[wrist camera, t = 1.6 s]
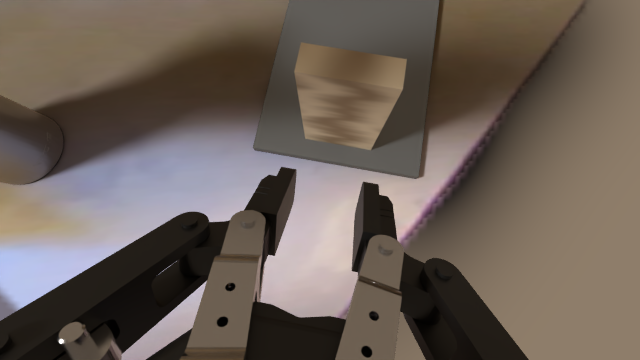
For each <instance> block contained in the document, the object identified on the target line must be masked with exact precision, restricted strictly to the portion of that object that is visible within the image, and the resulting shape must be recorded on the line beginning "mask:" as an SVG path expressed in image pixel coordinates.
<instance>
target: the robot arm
mask: <svg viewBox="0 0 640 360" xmlns="http://www.w3.org/2000/svg"><path fill="white" fill-rule="evenodd" d="M62 149H63V135H62V132H61V129H60V127H59V126H58V125H57V124H56V122H55V121H53V120H52V119H51V118H49V117H47V116H44V115H42V114H40V113H38V112H36V111H33V110H31V109H29V108H27V107H25V106H23V105H20V104H18V103H16V102H14V101H12V100H10V99H8V98H5V97H3V96H1V95H0V182H3V183H8V184H14V185H22V184H27V183H31V182H33V181H36V180H38V179H40V178H41V177H43V176H44V175H46V174H47V173H48V172H49V171H50V170H51V169H52V168H53V167H54V166H55V164H56V163H57V162H58V160H59V158H60V156H61V153H62ZM295 183H296V169H290V168H285V167H281V169H280V171H279V173H278V175H277V176H273V175H268V176H267V177H265V178H264V179H262V180H261V182H260V184H259V185H258V188H257V189H256V191H255V193H254V194H253V196H252V198H251V199H250V201H249V203H248V205H247V206H246V208H245V210H244V211H240V212H238V213H236V214H235V215H233V216H232V218H231V220H230V221H225V222H209V220H208V217H207V216H206V215H204V214H203V213H200V212H186V213H183V214H180V215H178V216H176V217H175V218H173V219H171V220H170V221H168V222H166V223H165V224H163V225H161V226H160V227H158V228H156V229H154V230H153V231H151V232H149V233H148V234H146V235H144V236H143V237H141V238H139V239H138V240H136V241H134V242H133V243H131V244H129V245H128V246H126V247H124V248H122V249H121V250H119V251H117V252H116V253H114V254H112V255H111V256H109V257H107V258H106V259H104V260H102V261H101V262H99V263H97V264H95V265H94V266H92V267H90V268H89V269H87V270H85V271H84V272H82V273H80V274H79V275H77V276H75V277H74V278H72V279H70V280H69V281H67V282H65V283H63V284H62V285H60V286H58V287H57V288H55V289H53V290H52V291H50V292H48V293H47V294H45V295H43V296H42V297H40V298H38V299H36V300H35V301H33V302H31V303H30V304H28V305H26V306H25V307H23V308H21V309H20V310H18V311H16V312H15V313H13V314H11V315H10V316H8V317H6V318H4V319H3V320H1V321H0V360H121V357H122V353H124V352H125V351H126V350H127V349H128V348H129V347H131V346H132V345H133V344H134V343H135V342H136V341H137V340H139V339H140V338H141V337H142V336H143V335H144V334H146V333H147V332H148V331H149V330H150V329H151V328H152V327H154V326H155V325H156V324H157V323H158V322H159V321H161V320H162V319H163V318H164V317H165V316H166V315H167V314H169V313H170V312H171V311H172V310H173V309H174V308H176V307H177V306H178V305H179V304H180V303H181V302H183V301H184V300H185V299H186V298H187V297H188V296H189V295H191V294H192V293H193V292H194V291H195V290H196V289H198V288H199V287H200V286H201V285H202V284H203V283H204V282H206V281H207V283H206V286H205V290H204V293H203V296H202V299H201V303H200V306H199V309H198V312H197V315H196V319H195V322H194V325H193V328H192V329H190V330H189V331H187V332H186V333H184V334H183V335H181V336H180V337H179V338H177V339H176V340H174V341H173V342H171V343H170V344H168V345H167V346H165V347H164V348H162V349H161V350H159V351H158V352H156V353H155V354H153V355H152V356H150V357H149V358H148V359H146V360H394V358H395V348H396V341H397V333H398V324H399V315H400V311H401V312H403V314H404V317H405V319H406V321H407V323H408V325H409V327H410V329H411V331H412V333H413V335H414V337H415V339H416V341H417V343H418V345H419V347H420V349H421V351H422V353H423V355H424V357H425V359H426V360H528V358H527V357H526V356H525V354H524V353H523V352H522V350H521V349H520V348H519V347H518V345H517V344H516V343H515V341H514V340H513V339H512V338H511V337H510V335H509V334H508V332H507V331H506V330H505V329H504V327H503V326H502V325H501V324H500V322H499V321H498V320H497V318H496V317H495V316H494V315H493V313H492V312H491V311H490V310H489V308H488V307H487V306H486V304H485V303H484V302H483V300H482V299H481V298H480V297H479V295H478V294H477V293H476V292H475V290H474V289H473V288H472V286H471V285H470V284H469V283H468V281H467V280H466V279H465V277H464V276H463V275H462V274H461V272H460V271H459V270H458V269H457V268H456V267H455V266H454V265H453V264H451V263H450V262H448V261H446V260H442V259H439V258H432V259H429V260H427V261H426V263H423V262H420V261H418V260H416V259H414V258H412V257H410V256H408V255H407V254H406V253H404V249H403V247H402V245H401V244H400V243H399V242H398V241H397V235H396V227H395V219H394V213H393V204H392V202H391V201H390V200H389V198H388V197H387V196H382V195H379V186H378V184H373V183H367V182H363V183H362V187H361V191H360V195H359V199H358V203H357V207H356V212H355V221H354V239H353V258H352V271H354V272H358V279H357V283H356V286H355V289H354V293H353V296H352V300H351V303H350V306H349V310H348V313H347V317H346V320H345V319H340V318H335V317H331V316H325V317H305V318H300V317H296V316H294V315H292V314H290V313H288V312H286V311H284V310H282V309H280V308H278V307H276V306H274V305H271V304H266V303H262V302H260V299H261V291H262V282H263V274H264V263H265V261H266V259H267V256H268V255H273V256H275V253H276V250H277V248H278V245H279V242H280V239H281V236H282V234H283V231H284V228H285V225H286V222H287V220H288V217H289V214H290V211H291V208H292V205H293V201H294V194H295ZM176 261H177V262H176ZM174 262H175V263H174ZM173 263H174V264H173ZM170 265H171V266H170ZM169 266H170V267H169ZM167 267H168V268H167ZM166 268H167V269H166ZM165 269H166V270H165ZM163 270H164V271H163ZM162 271H163V272H162ZM159 273H160V274H159ZM158 274H159V275H158Z"/></svg>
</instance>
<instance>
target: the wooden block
mask: <svg viewBox="0 0 640 360" xmlns="http://www.w3.org/2000/svg"><path fill="white" fill-rule="evenodd" d="M406 63H407V59H402V58H396V57H390V56H383V55H377V54H371V53H364V52H358V51H352V50H346V49H339V48H333V47H327V46H320V45H314V44H308V43H302V42H301V45H300V49H299V53H298V58H297V62H296V67H295V71H294V73H295V79H296V85H297V91H298V97H299V103H300V109H301V116H302V122H303V128H304V134H305V139H310V140H315V141H321V142H327V143H332V144H338V145H344V146H350V147H355V148H361V149H367V150H371V149H372V147H373V145H374V143H375V141H376V139H377V137H378V135H379V134H380V132H381V130H382V128H383V126H384V124H385V122H386V120H387V118H388V117H389V115H390V113H391V111H392V109H393V107H394V105H395V103H396V101H397V100H398V98H399V96H400V94H401V92H402V90H403V84H404V77H405V70H406Z"/></svg>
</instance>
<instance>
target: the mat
mask: <svg viewBox="0 0 640 360" xmlns="http://www.w3.org/2000/svg"><path fill="white" fill-rule="evenodd" d="M438 8H439V0H289V4H288V8H287V12H286V16H285V20H284V24H283V28H282V32H281V36H280V40H279V44H278V48H277V52H276V56H275V60H274V64H273V68H272V72H271V77H270V81H269V85H268V89H267V93H266V97H265V101H264V105H263V109H262V113H261V117H260V121H259V125H258V129H257V133H256V137H255V141H254V145H253V148H254V150H256V151H262V152H268V153H273V154H279V155H284V156H290V157H296V158H301V159H307V160H313V161H318V162H324V163H329V164H335V165H341V166H346V167H352V168H357V169H363V170H369V171H374V172H380V173H386V174H391V175H397V176H402V177H408V178H414V179H416V178H418V177H419V169H420V161H421V152H422V144H423V135H424V127H425V118H426V110H427V101H428V93H429V84H430V76H431V67H432V59H433V50H434V42H435V33H436V25H437V16H438ZM301 42H302V43H308V44H314V45H320V46H327V47H333V48H339V49H346V50H352V51H358V52H364V53H371V54H377V55H383V56H390V57H396V58H402V59H407V63H406V70H405V77H404V84H403V90H402V92H401V94H400V96H399V98H398V100H397V101H396V103H395V105H394V107H393V109H392V111H391V113H390V115H389V117H388V118H387V120H386V122H385V124H384V126H383V128H382V130H381V132H380V134H379V135H378V137H377V139H376V141H375V143H374V145H373V147H372V149H371V150H367V149H361V148H355V147H350V146H344V145H338V144H332V143H327V142H321V141H315V140H310V139H305V134H304V128H303V122H302V116H301V109H300V103H299V97H298V91H297V85H296V79H295V73H294V71H295V67H296V62H297V58H298V53H299V49H300V45H301Z"/></svg>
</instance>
